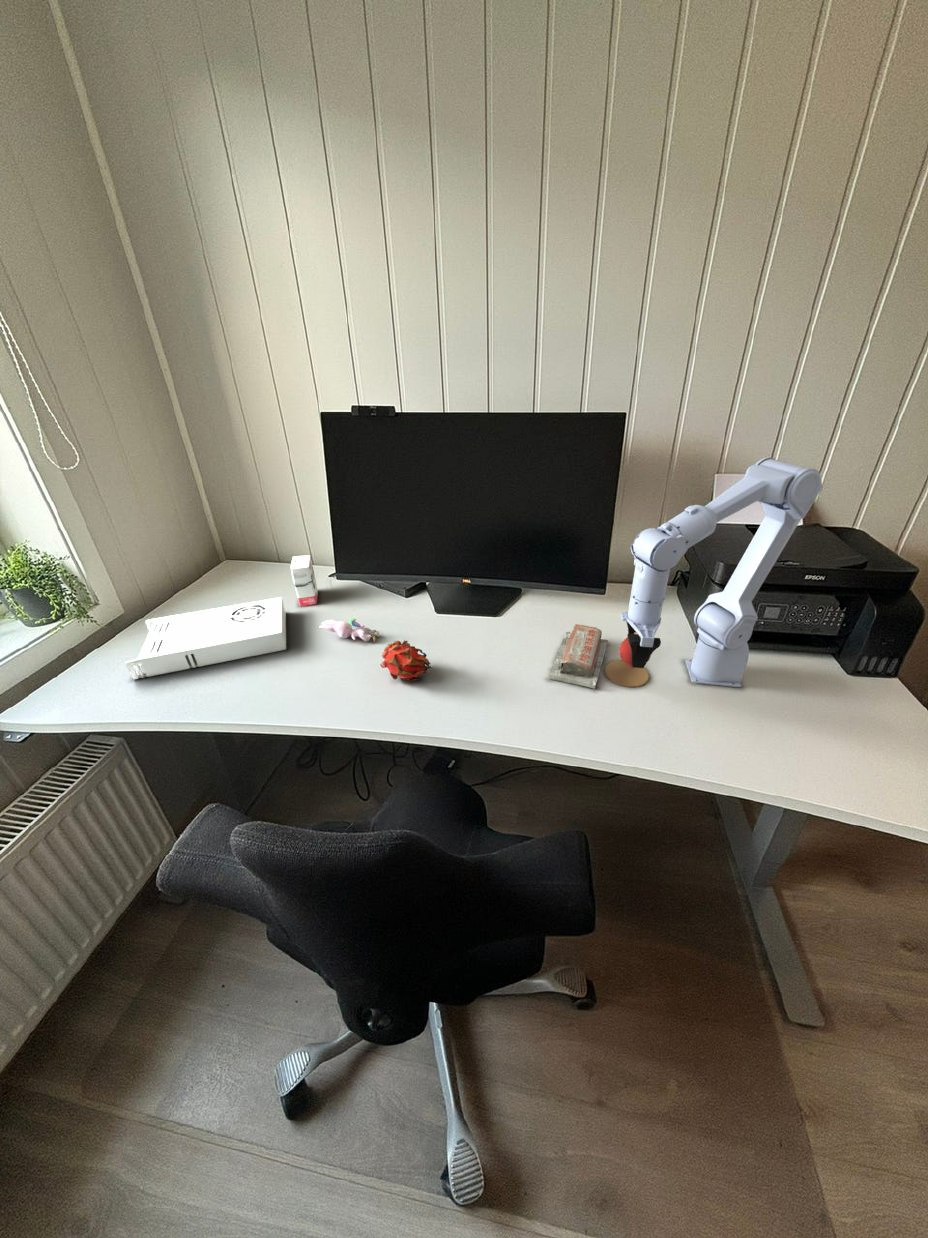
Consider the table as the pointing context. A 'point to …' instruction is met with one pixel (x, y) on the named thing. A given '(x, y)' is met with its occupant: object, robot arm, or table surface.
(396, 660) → the dragon fruit
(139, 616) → the table surface
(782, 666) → the table surface
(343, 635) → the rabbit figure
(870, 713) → the table surface
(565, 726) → the table surface
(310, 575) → the ink box
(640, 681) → the coaster
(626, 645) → the onion
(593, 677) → the packaged product
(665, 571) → the robot arm
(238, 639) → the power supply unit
